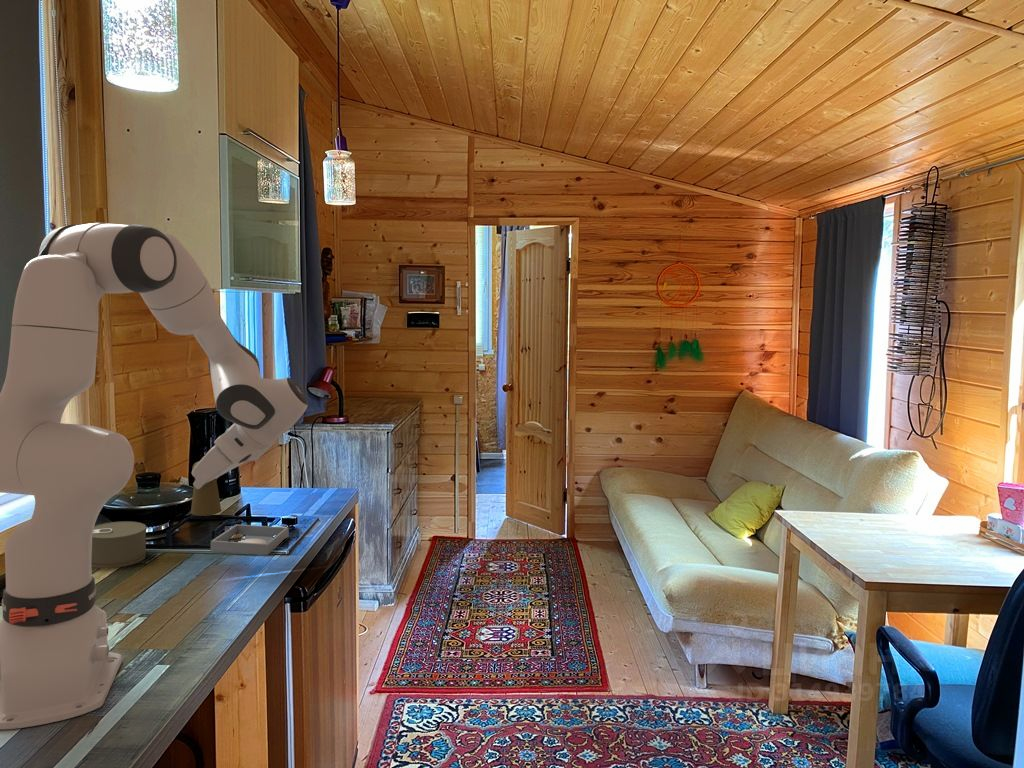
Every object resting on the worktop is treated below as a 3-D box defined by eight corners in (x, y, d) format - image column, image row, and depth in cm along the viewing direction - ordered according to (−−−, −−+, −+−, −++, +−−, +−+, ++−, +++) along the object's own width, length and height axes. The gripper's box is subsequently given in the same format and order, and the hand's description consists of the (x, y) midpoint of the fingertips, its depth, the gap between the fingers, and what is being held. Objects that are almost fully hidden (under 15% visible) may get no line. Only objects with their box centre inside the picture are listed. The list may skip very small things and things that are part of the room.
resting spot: (269, 546, 174) (269, 545, 174) (237, 550, 171) (237, 549, 171) (263, 538, 180) (263, 537, 180) (233, 541, 177) (233, 540, 177)
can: (147, 565, 161) (146, 534, 161) (83, 572, 156) (82, 540, 155) (146, 547, 172) (146, 519, 171) (86, 554, 166) (86, 524, 166)
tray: (267, 557, 168) (267, 544, 168) (210, 554, 169) (210, 541, 169) (288, 539, 181) (288, 527, 181) (235, 536, 182) (235, 524, 182)
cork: (210, 516, 156) (209, 465, 154) (184, 514, 157) (183, 463, 156) (226, 509, 162) (226, 459, 160) (202, 506, 163) (201, 457, 162)
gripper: (256, 420, 167) (215, 461, 169) (214, 438, 147) (167, 484, 149) (276, 441, 167) (234, 481, 169) (237, 461, 147) (189, 507, 149)
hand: (202, 483), depth 159 cm, fingers closed on cork, 4 cm apart
